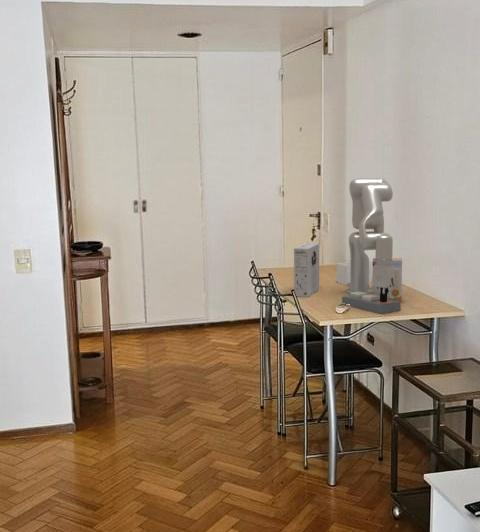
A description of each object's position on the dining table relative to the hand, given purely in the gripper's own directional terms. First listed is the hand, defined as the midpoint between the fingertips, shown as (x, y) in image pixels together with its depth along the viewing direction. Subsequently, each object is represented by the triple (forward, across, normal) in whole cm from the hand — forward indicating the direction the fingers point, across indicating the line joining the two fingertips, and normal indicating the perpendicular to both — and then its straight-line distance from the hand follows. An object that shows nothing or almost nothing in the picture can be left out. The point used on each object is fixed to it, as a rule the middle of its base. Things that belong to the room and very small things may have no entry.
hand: (383, 301), depth 318 cm
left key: (+1, -16, 0) cm, 16 cm away
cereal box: (+4, -53, -1) cm, 53 cm away
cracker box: (+4, -13, +16) cm, 21 cm away
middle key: (+1, -8, 0) cm, 8 cm away
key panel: (+4, -8, 0) cm, 9 cm away
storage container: (+4, -56, +41) cm, 70 cm away
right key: (+2, 0, 0) cm, 3 cm away
